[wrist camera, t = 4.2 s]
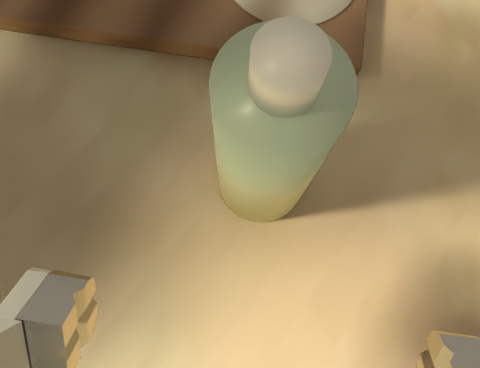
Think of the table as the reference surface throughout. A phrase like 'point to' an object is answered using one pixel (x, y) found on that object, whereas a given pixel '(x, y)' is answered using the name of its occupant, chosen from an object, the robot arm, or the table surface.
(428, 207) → the table surface
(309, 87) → the slim bottle
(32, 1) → the rail stand
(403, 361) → the table surface
